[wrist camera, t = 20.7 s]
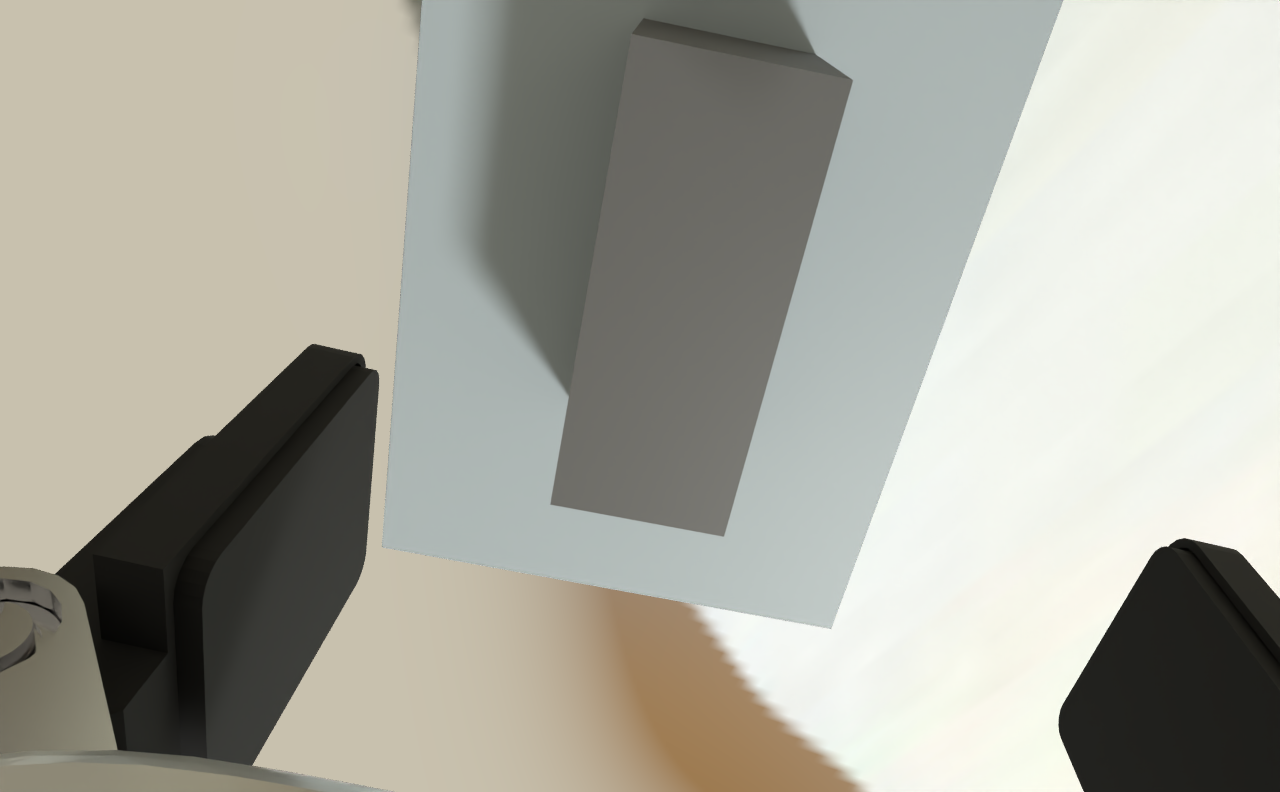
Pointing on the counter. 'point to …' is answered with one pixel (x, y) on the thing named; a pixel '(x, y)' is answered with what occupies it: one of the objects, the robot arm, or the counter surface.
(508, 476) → the lid
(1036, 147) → the counter surface
